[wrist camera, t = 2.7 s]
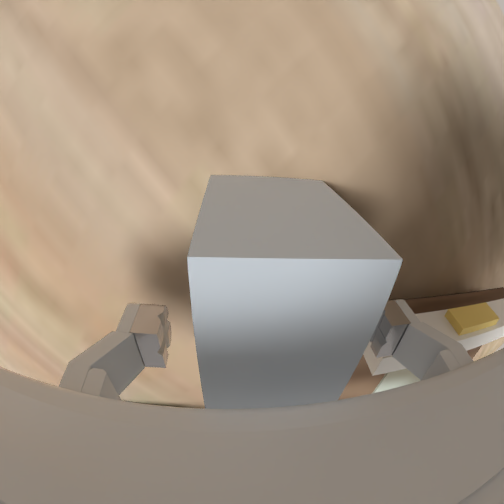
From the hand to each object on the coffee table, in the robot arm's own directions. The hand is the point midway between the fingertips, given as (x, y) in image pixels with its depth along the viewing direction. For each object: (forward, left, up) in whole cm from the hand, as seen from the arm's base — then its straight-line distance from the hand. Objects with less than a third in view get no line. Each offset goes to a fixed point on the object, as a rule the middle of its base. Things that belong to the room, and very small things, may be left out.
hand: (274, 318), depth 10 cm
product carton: (-1, 0, -4) cm, 4 cm away
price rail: (+4, +15, -3) cm, 16 cm away
